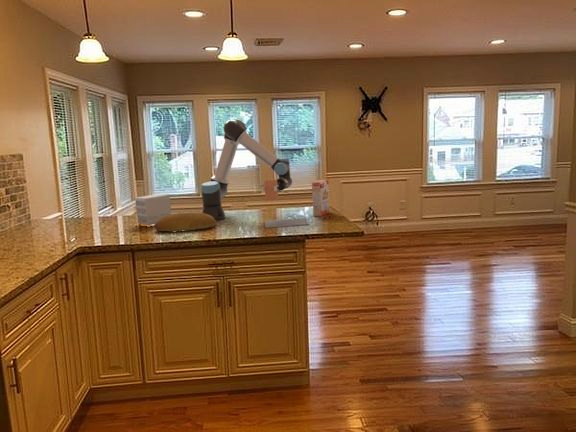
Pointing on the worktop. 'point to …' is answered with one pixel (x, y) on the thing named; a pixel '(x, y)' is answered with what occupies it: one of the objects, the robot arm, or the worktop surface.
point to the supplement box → (152, 208)
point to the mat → (286, 223)
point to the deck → (270, 190)
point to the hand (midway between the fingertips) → (268, 189)
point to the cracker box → (320, 197)
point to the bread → (185, 221)
